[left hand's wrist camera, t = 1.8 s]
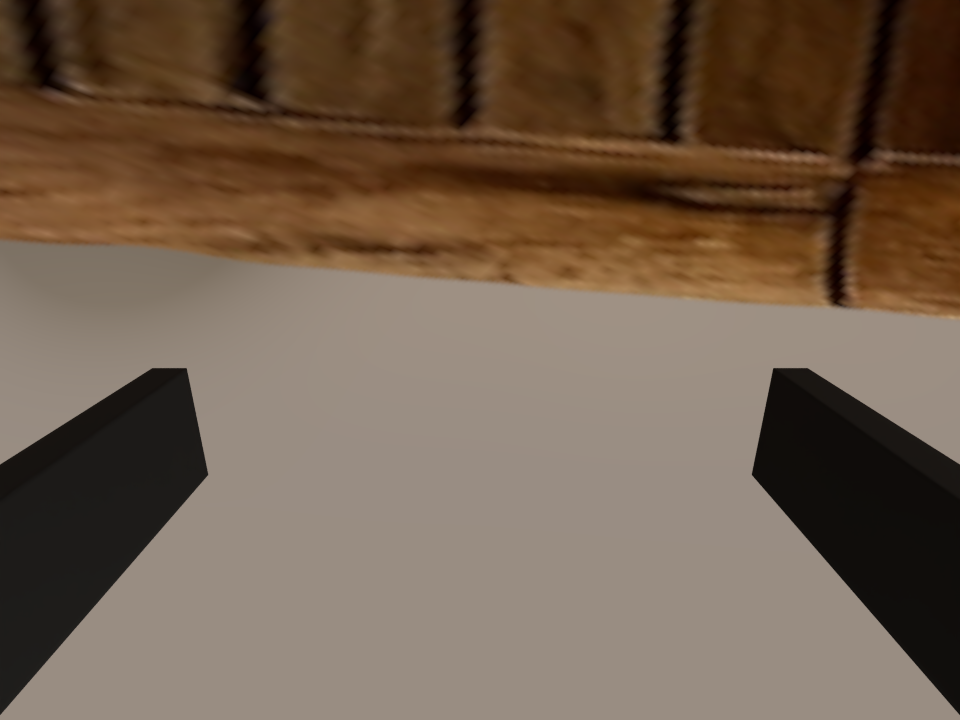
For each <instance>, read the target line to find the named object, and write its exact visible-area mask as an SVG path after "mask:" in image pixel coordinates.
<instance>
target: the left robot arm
mask: <svg viewBox="0 0 960 720" xmlns="http://www.w3.org/2000/svg"><path fill="white" fill-rule="evenodd" d="M207 476H208V471H207V466H206V461H205V457H204V452H203V447H202V442H201V437H200V432H199V427H198V422H197V417H196V412H195V407H194V402H193V397H192V392H191V387H190V383H189V378H188V373H187V369H186V368H152V369H150V370H149V371H147V372H146V373H144V374H143V375H141V376H139V377H138V378H136V379H135V380H133V381H132V382H130V383H128V384H127V385H125V386H124V387H122V388H120V389H119V390H117V391H116V392H114V393H113V394H111V395H109V396H108V397H106V398H105V399H103V400H101V401H100V402H98V403H97V404H95V405H94V406H92V407H90V408H89V409H87V410H86V411H84V412H83V413H81V414H79V415H78V416H76V417H75V418H73V419H72V420H70V421H68V422H67V423H65V424H64V425H62V426H60V427H59V428H57V429H56V430H54V431H53V432H51V433H49V434H48V435H46V436H45V437H43V438H41V439H40V440H38V441H37V442H35V443H34V444H32V445H30V446H29V447H27V448H26V449H24V450H22V451H21V452H19V453H18V454H16V455H15V456H13V457H11V458H10V459H8V460H7V461H5V462H4V463H2V464H0V715H1V713H2V712H3V711H4V710H5V709H6V708H7V707H8V705H9V704H10V703H11V702H12V701H13V700H14V698H15V697H16V696H17V695H18V694H19V693H20V692H21V690H22V689H23V688H24V687H25V686H26V685H27V683H28V682H29V681H30V680H31V679H32V678H33V676H34V675H35V674H36V673H37V672H38V671H39V670H40V668H41V667H42V666H43V665H44V664H45V663H46V661H47V660H48V659H49V658H50V657H51V656H52V655H53V653H54V652H55V651H56V650H57V649H58V648H59V646H60V645H61V644H62V643H63V642H64V641H65V640H66V638H67V637H68V636H69V635H70V634H71V633H72V631H73V630H74V629H75V628H76V627H77V626H78V625H79V623H80V622H81V621H82V620H83V619H84V618H85V616H86V615H87V614H88V613H89V612H90V611H91V609H92V608H93V607H94V606H95V605H96V604H97V603H98V601H99V600H100V599H101V598H102V597H103V596H104V595H105V593H106V592H107V591H108V590H109V589H110V588H111V586H112V585H113V584H114V583H115V582H116V581H117V579H118V578H119V577H120V576H121V575H122V574H123V573H124V571H125V570H126V569H127V568H128V567H129V566H130V564H131V563H132V562H133V561H134V560H135V559H136V558H137V556H138V555H139V554H140V553H141V552H142V551H143V549H144V548H145V547H146V546H147V545H148V544H149V543H150V541H151V540H152V539H153V538H154V537H155V536H156V534H157V533H158V532H159V531H160V530H161V529H162V528H163V526H164V525H165V524H166V523H167V522H168V521H169V519H170V518H171V517H172V516H173V515H174V514H175V513H176V511H177V510H178V509H179V508H180V507H181V506H182V504H183V503H184V502H185V501H186V500H187V499H188V498H189V496H190V495H191V494H192V493H193V492H194V491H195V489H196V488H197V487H198V486H199V485H200V484H201V483H202V481H203V480H204V479H205V478H206V477H207ZM752 476H753V477H754V478H755V479H756V480H757V481H758V482H759V484H760V485H761V486H762V487H763V488H764V489H765V491H766V492H767V493H768V494H769V495H770V496H771V497H772V499H773V500H774V501H775V502H776V503H777V504H778V506H779V507H780V508H781V509H782V510H783V511H784V512H785V514H786V515H787V516H788V517H789V518H790V519H791V521H792V522H793V523H794V524H795V525H796V526H797V528H798V529H799V530H800V531H801V532H802V533H803V534H804V536H805V537H806V538H807V539H808V540H809V541H810V543H811V544H812V545H813V546H814V547H815V548H816V549H817V551H818V552H819V553H820V554H821V555H822V556H823V558H824V559H825V560H826V561H827V562H828V563H829V564H830V566H831V567H832V568H833V569H834V570H835V571H836V573H837V574H838V575H839V576H840V577H841V578H842V580H843V581H844V582H845V583H846V584H847V585H848V586H849V587H850V589H851V590H852V591H853V592H854V593H855V594H856V596H857V597H858V598H859V599H860V600H861V601H862V603H863V604H864V605H865V606H866V607H867V608H868V610H869V611H870V612H871V613H872V614H873V615H874V616H875V618H876V619H877V620H878V621H879V622H880V623H881V625H882V626H883V627H884V628H885V629H886V630H887V631H888V633H889V634H890V635H891V636H892V637H893V638H894V640H895V641H896V642H897V643H898V644H899V645H900V646H901V648H902V649H903V650H904V651H905V652H906V653H907V654H908V656H909V657H910V658H911V659H912V660H913V661H914V663H915V664H916V665H917V666H918V667H919V668H920V670H921V671H922V672H923V673H924V674H925V675H926V676H927V678H928V679H929V680H930V681H931V682H932V683H933V684H934V686H935V687H936V688H937V689H938V690H939V692H940V693H941V694H942V695H943V696H944V697H945V698H946V700H947V701H948V702H949V703H950V704H951V705H952V706H953V708H954V709H955V710H956V711H957V712H958V713H959V715H960V464H958V463H956V462H955V461H953V460H952V459H950V458H949V457H947V456H945V455H944V454H942V453H941V452H939V451H938V450H936V449H934V448H933V447H931V446H930V445H928V444H926V443H925V442H923V441H922V440H920V439H919V438H917V437H915V436H914V435H912V434H911V433H909V432H907V431H906V430H904V429H903V428H901V427H900V426H898V425H896V424H895V423H893V422H892V421H890V420H889V419H887V418H885V417H884V416H882V415H881V414H879V413H877V412H876V411H874V410H873V409H871V408H870V407H868V406H866V405H865V404H863V403H862V402H860V401H859V400H857V399H855V398H854V397H852V396H851V395H849V394H847V393H846V392H844V391H843V390H841V389H840V388H838V387H836V386H835V385H833V384H832V383H830V382H828V381H827V380H825V379H824V378H822V377H821V376H819V375H817V374H816V373H814V372H813V371H811V370H810V369H808V368H774V369H773V373H772V378H771V383H770V387H769V392H768V397H767V402H766V407H765V412H764V417H763V422H762V427H761V432H760V437H759V442H758V447H757V452H756V456H755V461H754V466H753V471H752Z"/></svg>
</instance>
